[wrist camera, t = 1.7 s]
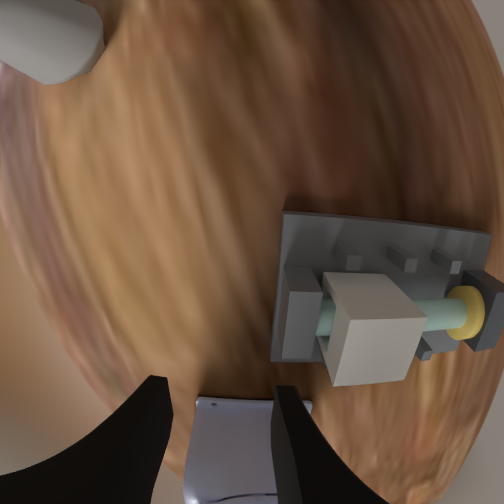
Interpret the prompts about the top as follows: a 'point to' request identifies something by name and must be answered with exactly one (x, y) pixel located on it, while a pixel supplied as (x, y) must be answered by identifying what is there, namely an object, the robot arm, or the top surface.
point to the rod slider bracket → (379, 262)
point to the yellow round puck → (474, 312)
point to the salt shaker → (50, 38)
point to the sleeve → (369, 329)
